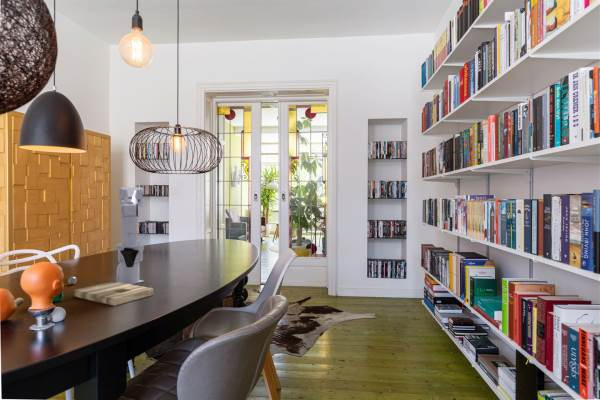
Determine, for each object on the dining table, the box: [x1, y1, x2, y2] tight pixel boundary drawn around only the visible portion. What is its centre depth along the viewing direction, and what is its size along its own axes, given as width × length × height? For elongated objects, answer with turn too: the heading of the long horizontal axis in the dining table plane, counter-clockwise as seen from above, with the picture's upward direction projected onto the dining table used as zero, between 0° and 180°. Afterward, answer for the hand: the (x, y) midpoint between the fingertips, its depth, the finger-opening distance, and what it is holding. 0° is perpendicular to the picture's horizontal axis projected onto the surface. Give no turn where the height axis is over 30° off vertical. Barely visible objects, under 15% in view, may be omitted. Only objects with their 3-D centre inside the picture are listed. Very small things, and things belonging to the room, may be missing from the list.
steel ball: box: [67, 276, 78, 285], centre depth 154 cm, size 3×3×3 cm
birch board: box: [74, 280, 154, 306], centre depth 135 cm, size 24×16×2 cm, turn 61°
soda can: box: [53, 266, 64, 303], centre depth 128 cm, size 5×5×12 cm
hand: (129, 267), depth 143 cm, fingers closed
